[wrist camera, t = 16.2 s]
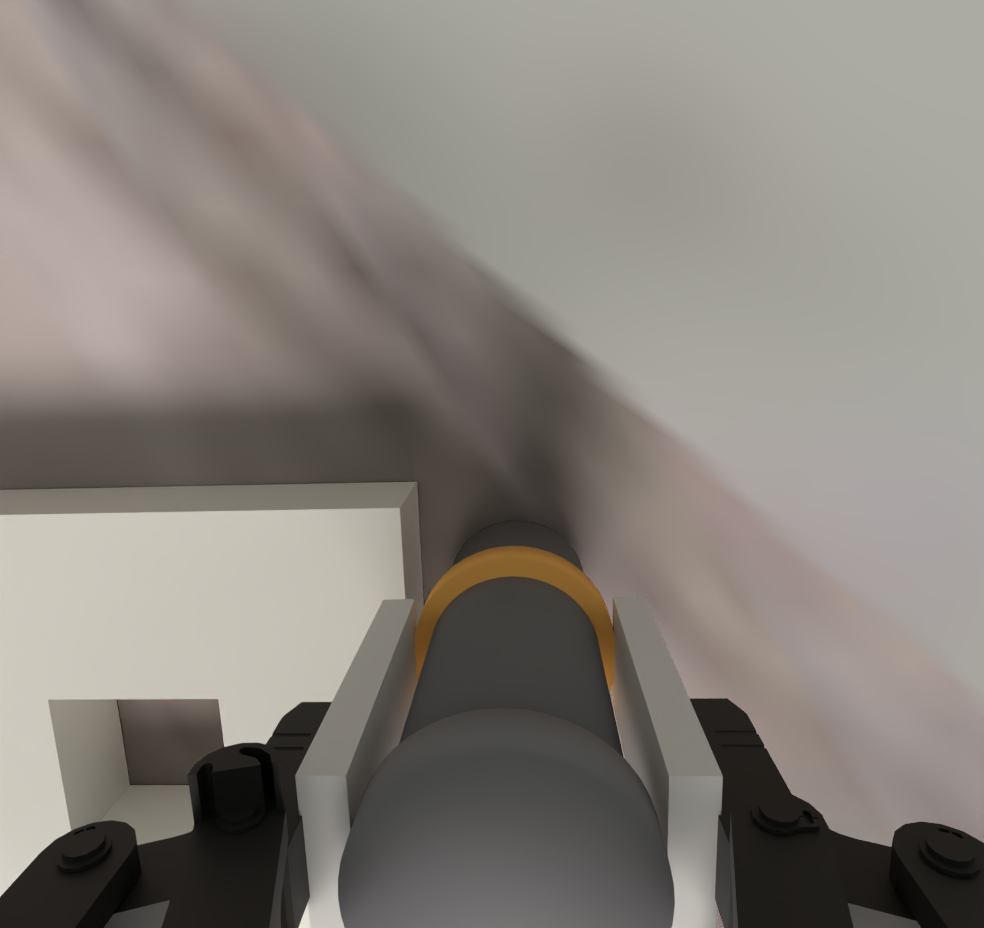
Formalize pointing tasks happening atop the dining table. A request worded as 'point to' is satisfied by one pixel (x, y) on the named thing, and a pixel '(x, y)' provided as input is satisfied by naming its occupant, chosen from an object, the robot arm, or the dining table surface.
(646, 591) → the dining table surface
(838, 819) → the dining table surface
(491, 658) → the plug
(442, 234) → the dining table surface
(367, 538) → the socket block
